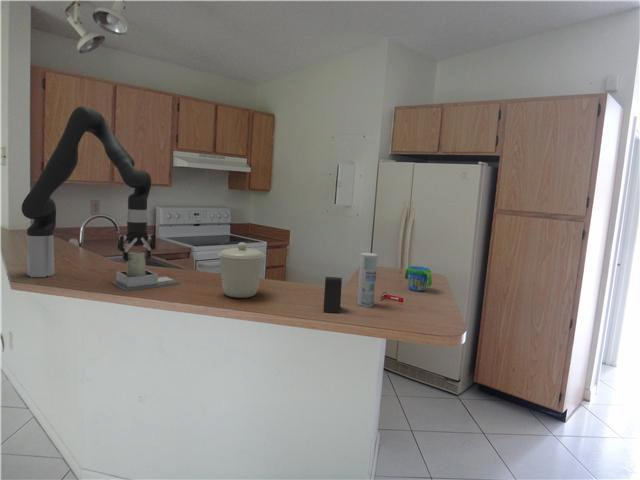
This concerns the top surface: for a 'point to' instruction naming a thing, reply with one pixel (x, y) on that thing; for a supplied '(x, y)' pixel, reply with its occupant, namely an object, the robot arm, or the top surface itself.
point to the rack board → (142, 281)
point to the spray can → (367, 279)
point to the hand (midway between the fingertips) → (136, 260)
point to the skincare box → (136, 264)
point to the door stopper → (332, 294)
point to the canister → (241, 271)
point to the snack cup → (418, 278)
